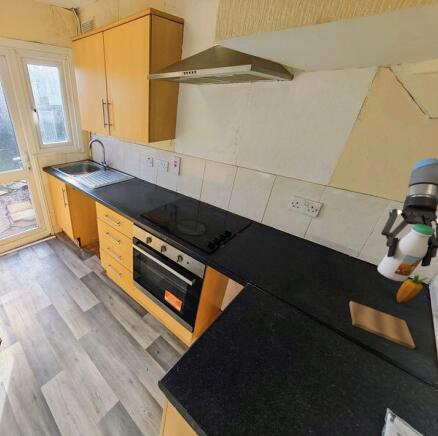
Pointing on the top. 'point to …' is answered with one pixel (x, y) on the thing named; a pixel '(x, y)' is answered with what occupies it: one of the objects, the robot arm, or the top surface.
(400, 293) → the carrot
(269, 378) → the top surface
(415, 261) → the milk bottle
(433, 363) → the top surface
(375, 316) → the chopping board
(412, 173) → the robot arm
